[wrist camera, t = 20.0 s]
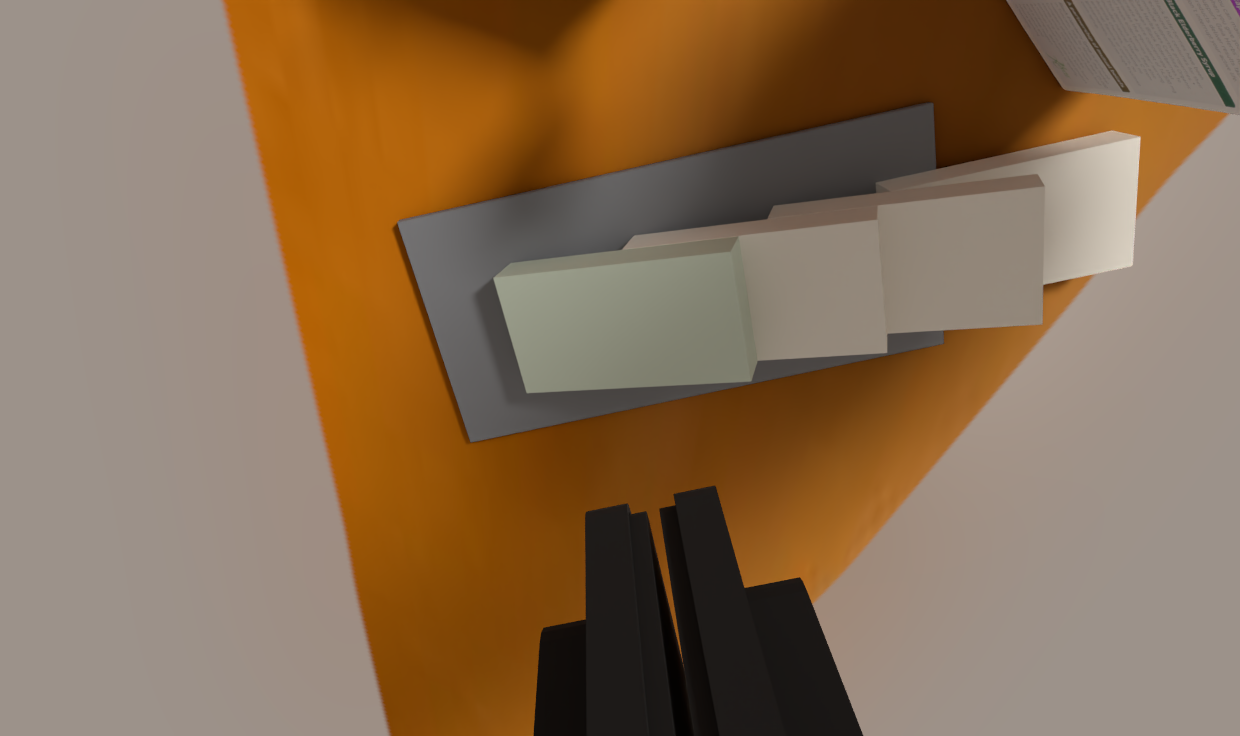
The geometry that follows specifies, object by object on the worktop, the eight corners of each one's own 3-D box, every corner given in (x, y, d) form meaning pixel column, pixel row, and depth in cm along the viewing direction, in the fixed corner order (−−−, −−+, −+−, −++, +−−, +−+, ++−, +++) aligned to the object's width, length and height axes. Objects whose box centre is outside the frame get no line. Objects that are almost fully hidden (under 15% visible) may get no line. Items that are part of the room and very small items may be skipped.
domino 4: (875, 182, 37) (1112, 130, 36) (884, 301, 39) (1106, 254, 39) (890, 191, 35) (1140, 136, 35) (899, 315, 38) (1132, 265, 37)
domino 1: (510, 262, 38) (738, 236, 34) (541, 374, 40) (757, 361, 36) (493, 277, 36) (730, 251, 32) (526, 393, 38) (751, 381, 35)
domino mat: (928, 102, 36) (933, 103, 36) (940, 339, 41) (944, 343, 40) (399, 220, 37) (397, 222, 37) (472, 437, 42) (470, 442, 42)
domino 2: (633, 235, 37) (877, 205, 34) (657, 349, 40) (887, 333, 36) (621, 249, 36) (877, 219, 32) (647, 367, 38) (887, 353, 34)
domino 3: (773, 205, 37) (1037, 173, 33) (788, 322, 39) (1035, 306, 35) (767, 218, 35) (1044, 186, 31) (783, 339, 38) (1042, 324, 34)
